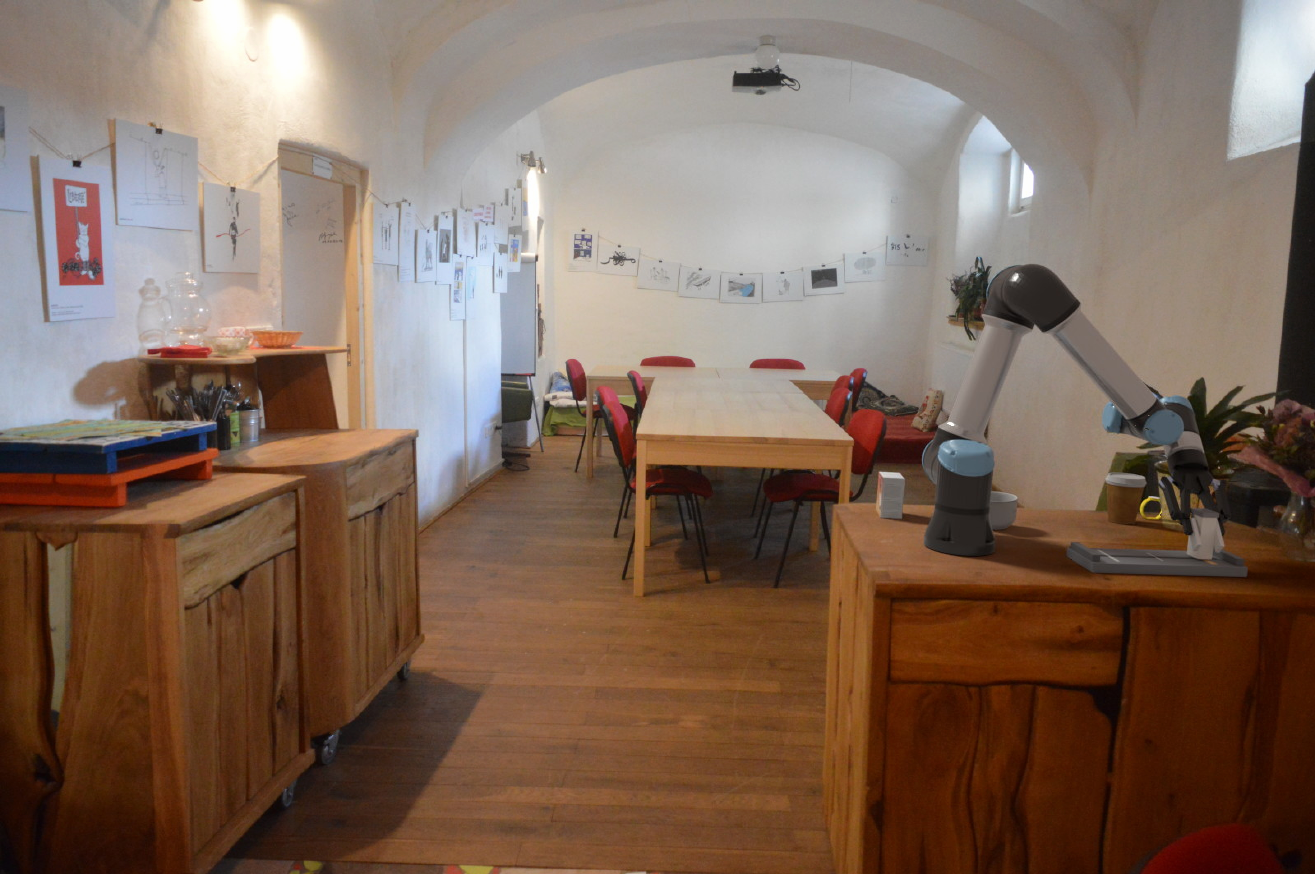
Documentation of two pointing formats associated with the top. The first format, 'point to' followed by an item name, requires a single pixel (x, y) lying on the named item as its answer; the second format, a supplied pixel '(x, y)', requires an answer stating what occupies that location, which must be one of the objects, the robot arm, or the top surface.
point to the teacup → (1002, 510)
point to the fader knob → (1204, 532)
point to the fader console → (1156, 562)
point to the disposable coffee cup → (1124, 496)
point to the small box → (890, 495)
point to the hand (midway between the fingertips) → (1208, 548)
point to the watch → (1145, 504)
